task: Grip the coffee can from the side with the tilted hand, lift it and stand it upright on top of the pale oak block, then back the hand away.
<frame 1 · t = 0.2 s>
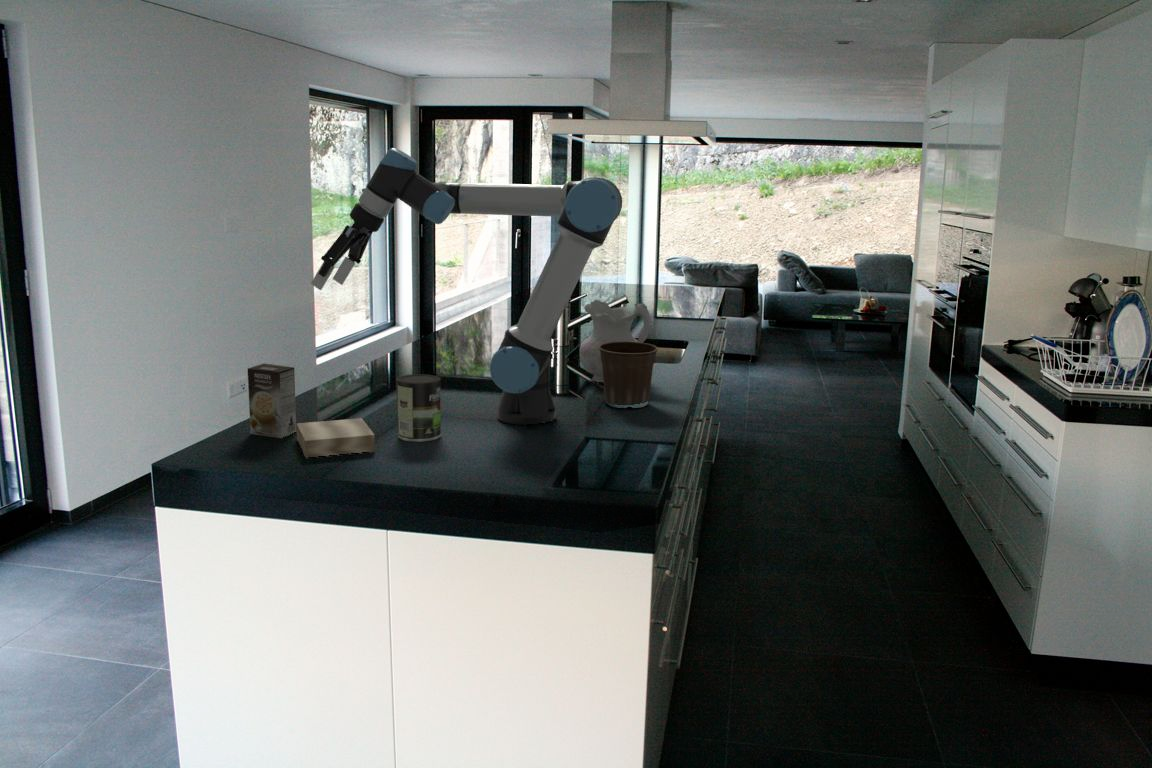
hand: (326, 284, 228), 34 cm above the table, tool tilted 30°, fingers open, 13 cm apart
plant pot: (626, 405, 261), on the table
oak base block: (335, 445, 216), on the table
ceramic pitcher: (614, 382, 288), on the table
coffee box: (273, 434, 225), on the table
coffee can: (419, 436, 226), on the table
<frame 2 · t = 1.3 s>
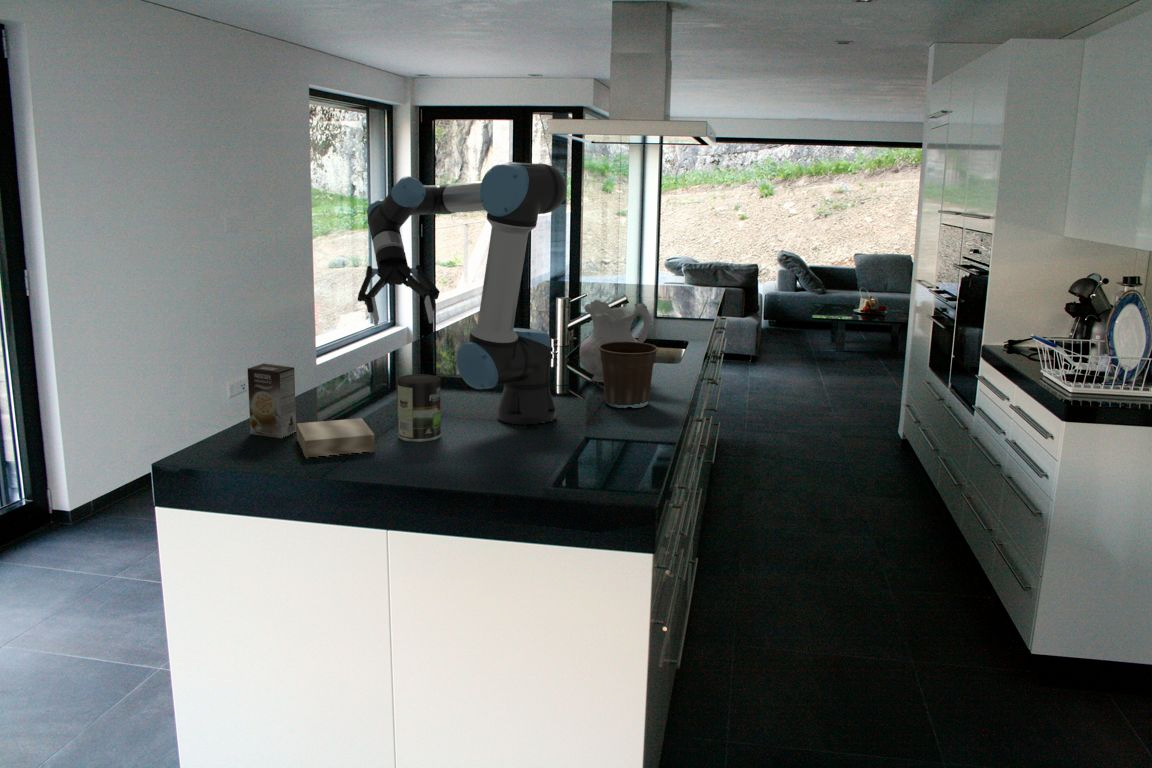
hand: (404, 321, 232), 26 cm above the table, tool tilted 45°, fingers open, 13 cm apart
nothing on the table moved.
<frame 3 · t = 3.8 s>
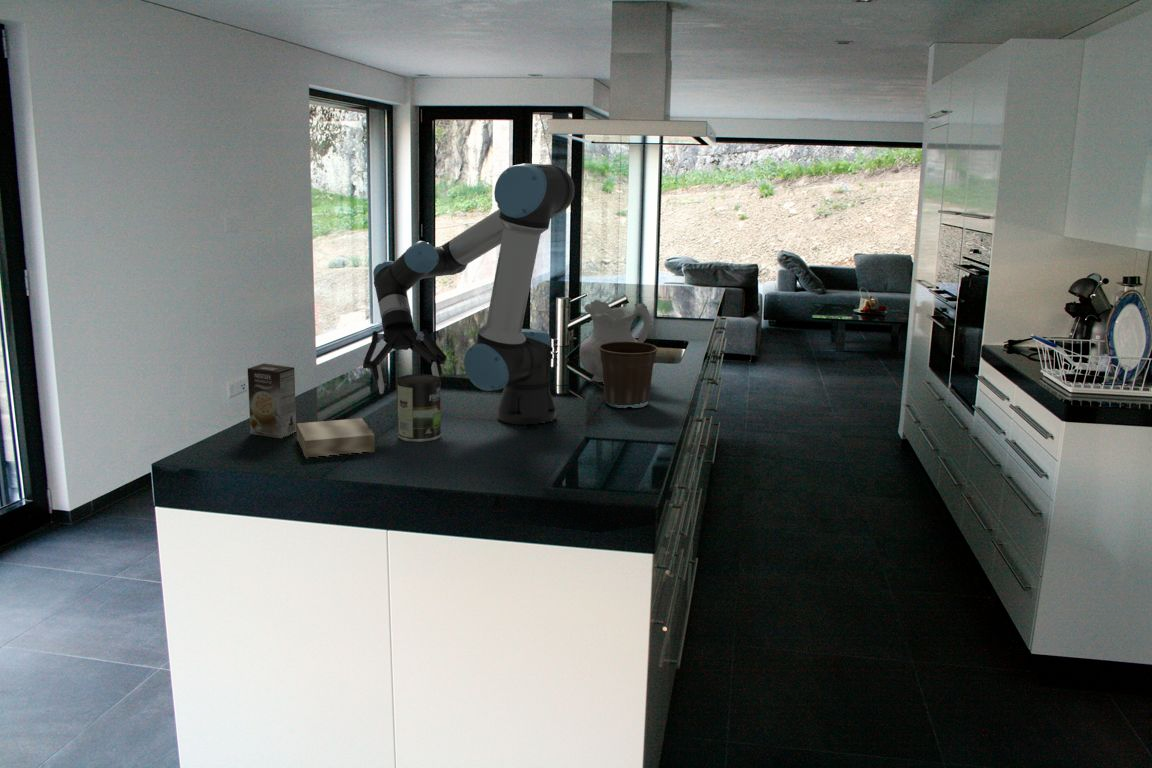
hand: (410, 389, 227), 11 cm above the table, tool tilted 45°, fingers open, 13 cm apart
nothing on the table moved.
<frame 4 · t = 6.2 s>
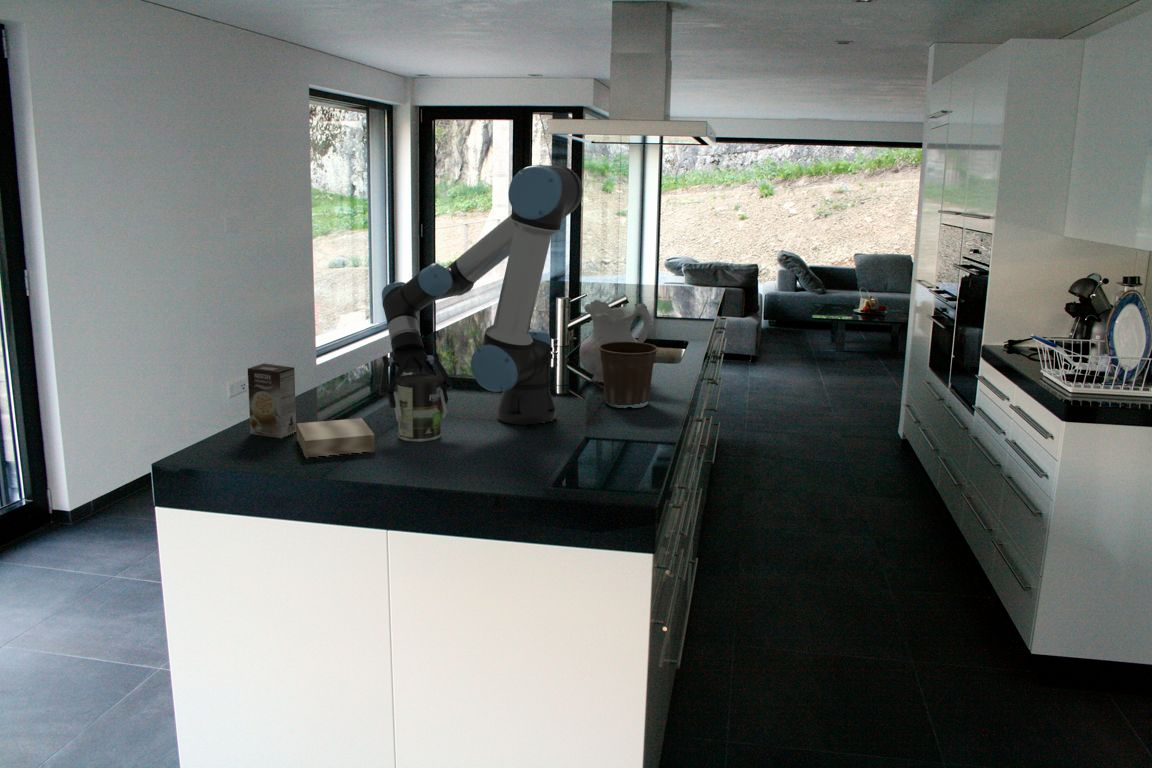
hand: (422, 416, 222), 6 cm above the table, tool tilted 45°, fingers closed on coffee can, 10 cm apart
coffee can: (419, 436, 226), on the table, touching gripper
everything else where it was.
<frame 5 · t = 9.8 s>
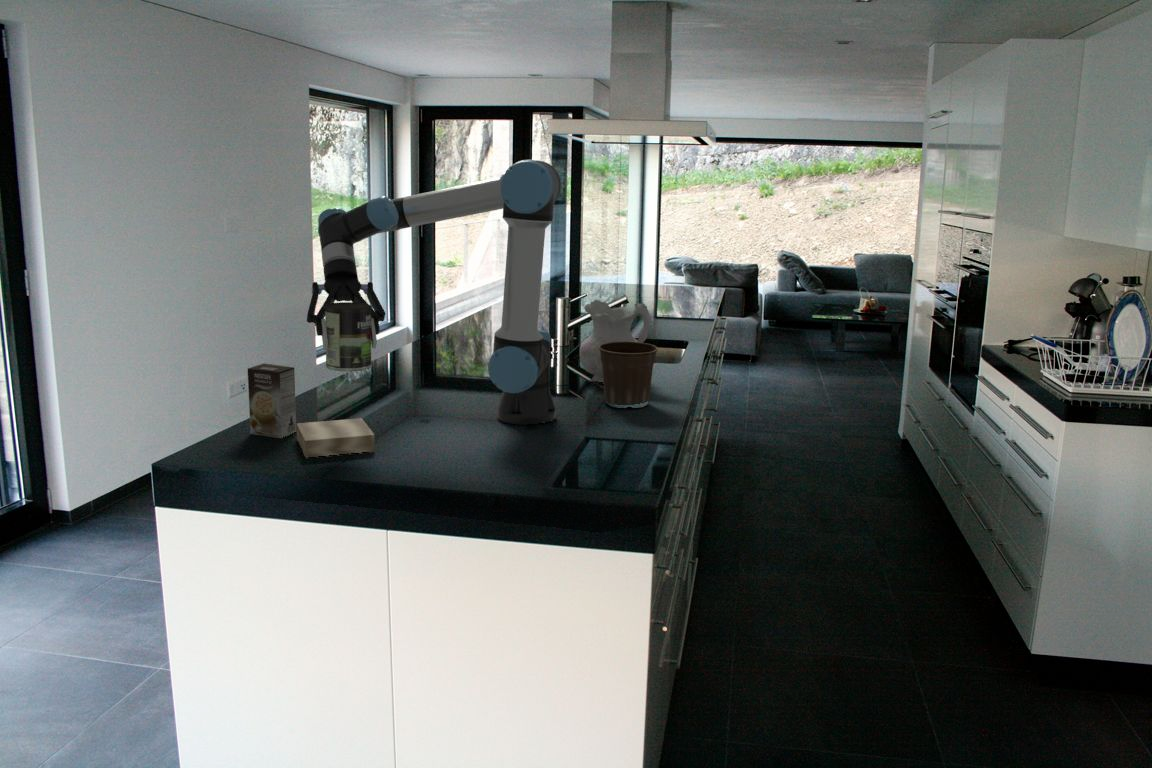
hand: (350, 345, 212), 23 cm above the table, tool tilted 45°, fingers closed on coffee can, 10 cm apart
coffee can: (348, 367, 216), point 18 cm above the table, touching gripper
everything else where it was.
when the fingers open (11 cm above the table, at t = 13.7 s): coffee can drops 1 cm, resting on oak base block.
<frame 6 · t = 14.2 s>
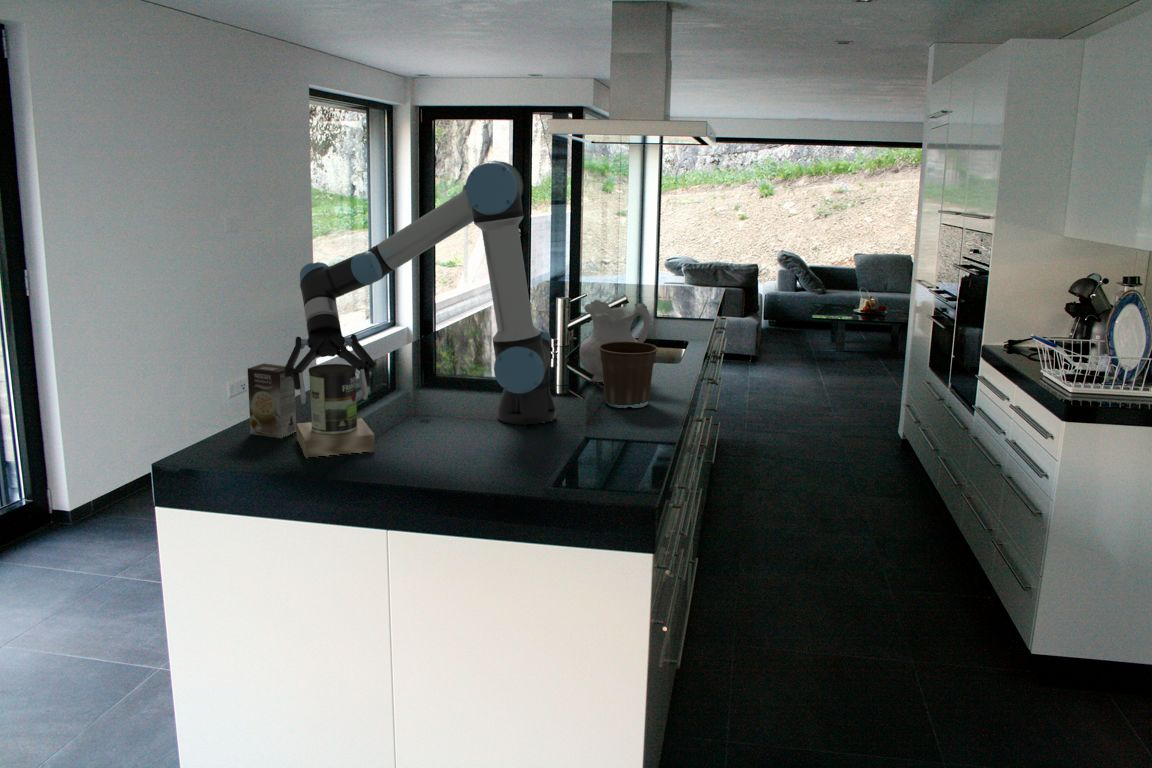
hand: (335, 398, 212), 12 cm above the table, tool tilted 45°, fingers open, 13 cm apart
coffee can: (334, 429, 216), point 4 cm above the table, touching oak base block
everything else where it was.
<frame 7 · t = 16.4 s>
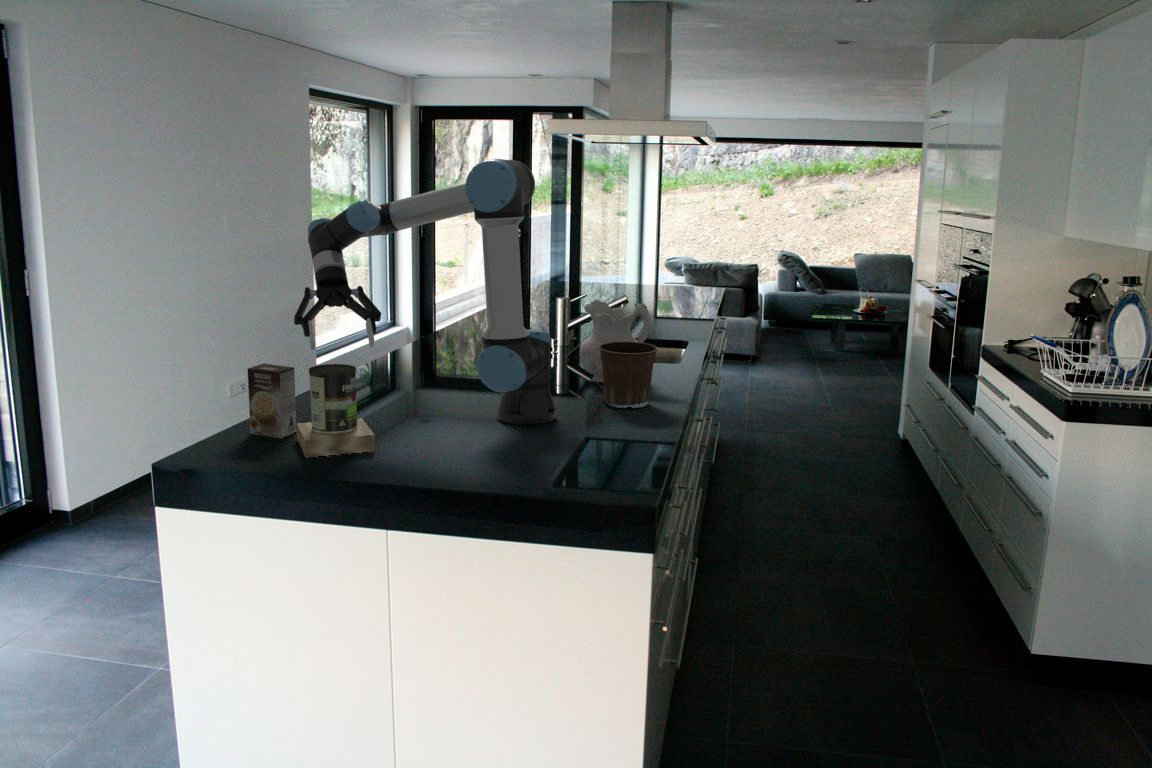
hand: (343, 345, 221), 21 cm above the table, tool tilted 45°, fingers open, 13 cm apart
nothing on the table moved.
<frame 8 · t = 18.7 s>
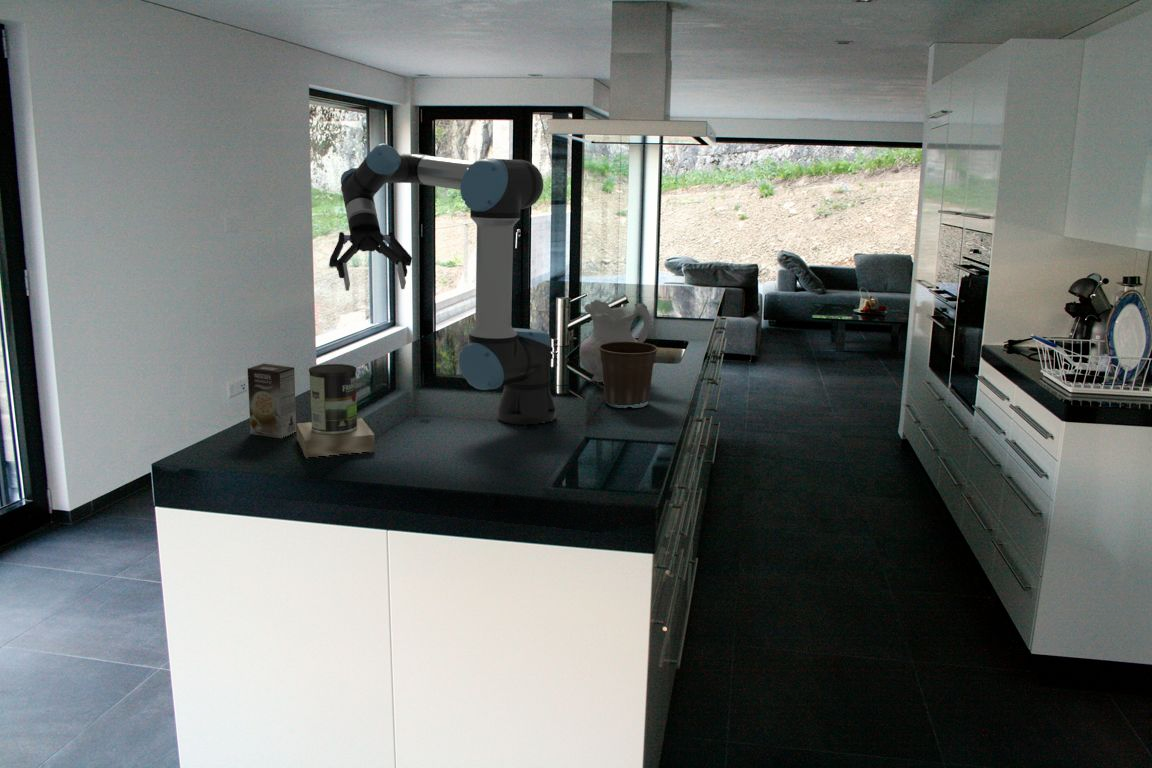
hand: (376, 286, 232), 34 cm above the table, tool tilted 45°, fingers open, 13 cm apart
nothing on the table moved.
at the end: coffee can inside the target area on the oak base block (0.2 cm from its centre), point 3.8 cm above the oak base block's base; coffee can tilted 0°; the gripper is holding nothing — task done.
